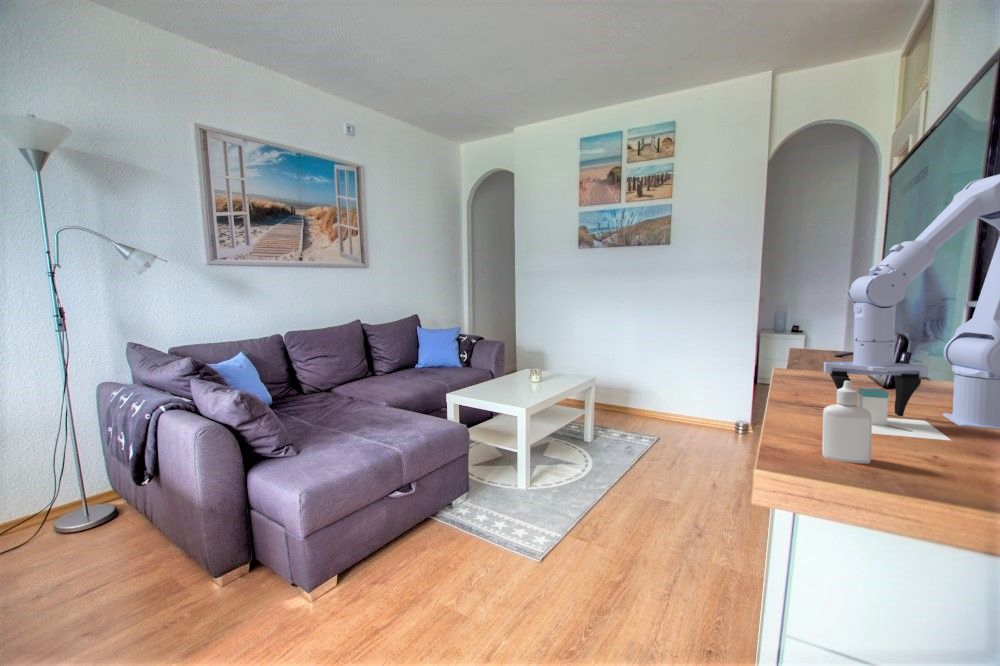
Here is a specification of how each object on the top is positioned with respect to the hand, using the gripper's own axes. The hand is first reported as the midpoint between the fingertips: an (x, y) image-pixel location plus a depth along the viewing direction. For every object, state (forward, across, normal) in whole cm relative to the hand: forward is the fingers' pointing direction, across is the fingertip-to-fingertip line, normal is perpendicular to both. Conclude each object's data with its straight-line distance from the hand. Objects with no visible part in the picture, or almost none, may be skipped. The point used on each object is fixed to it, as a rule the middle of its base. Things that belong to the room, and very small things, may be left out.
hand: (871, 412), depth 81 cm
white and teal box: (+2, 0, 0) cm, 2 cm away
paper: (+2, +2, -2) cm, 4 cm away
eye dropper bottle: (+2, -8, -23) cm, 24 cm away
